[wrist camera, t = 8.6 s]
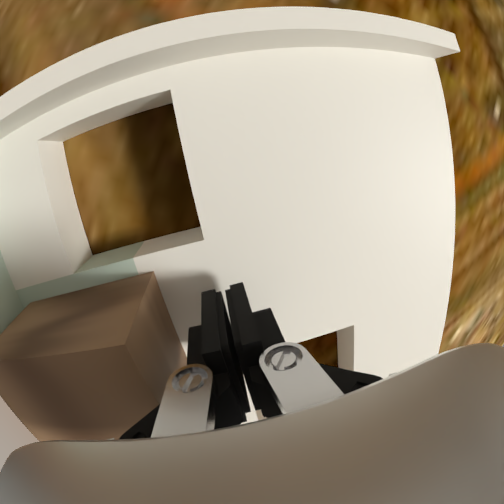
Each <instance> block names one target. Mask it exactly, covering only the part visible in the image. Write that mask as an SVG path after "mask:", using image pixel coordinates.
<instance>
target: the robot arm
mask: <svg viewBox="0 0 504 504" xmlns="http://www.w3.org/2000/svg"><path fill="white" fill-rule="evenodd" d="M225 293H226V299H227V305H228V311H229V317H230V320H229V317H228V313H227V310H226V306H225V303H224V299H223V296H222V293H221V291H219V292H216V290H215V289H212V290H208V291H204V292H201V325H198V326H193V327H190V328H189V331H188V348H187V365H186V366H183V367H181V368H179V369H177V370H176V371H174V372H173V373H172V374H171V375H170V377H169V379H168V381H167V384H166V387H165V391H164V394H163V397H162V401H161V403H160V404H159V405H158V406H157V407H156V408H154V409H153V410H152V411H151V412H149V413H148V414H147V415H146V416H145V417H143V418H142V419H141V420H140V421H138V422H137V423H136V424H135V425H133V426H132V427H131V428H130V429H128V430H127V431H126V432H125V433H124V434H123V435H122V436H121V437H120V438H119V440H115V439H114V438H112V439H108V440H48V441H41V442H35V443H32V444H28V445H25V446H22V447H20V448H18V449H16V450H15V451H13V452H12V453H11V454H10V455H9V457H8V458H7V460H6V462H5V464H4V465H3V467H2V470H1V472H0V504H504V347H502V346H499V345H496V344H492V343H477V344H471V345H466V346H461V347H458V348H454V349H451V350H448V351H445V352H443V353H440V354H438V355H436V356H433V357H430V358H428V359H426V360H424V361H422V362H420V363H418V364H416V365H413V366H411V367H409V368H407V369H404V370H402V371H400V372H396V373H392V374H389V377H386V378H384V379H383V378H381V377H379V376H376V375H372V374H367V373H361V372H356V371H351V370H347V369H342V368H337V367H333V366H328V365H324V364H319V363H317V362H316V360H315V359H314V358H313V357H312V356H311V354H310V353H309V352H308V351H307V350H306V348H304V347H303V346H302V345H300V344H297V343H293V342H285V340H284V337H283V335H282V333H281V331H280V328H279V326H278V324H277V322H276V319H275V317H274V315H273V312H272V310H271V308H267V309H263V310H259V311H256V312H252V310H251V307H250V304H249V300H248V297H247V294H246V291H245V288H244V284H243V282H241V283H237V284H233V285H230V289H227V290H225ZM230 323H231V324H230ZM243 375H244V376H243ZM244 378H245V381H246V384H247V387H248V390H249V393H250V396H251V399H252V402H253V405H254V408H255V411H257V410H261V412H262V415H263V416H264V417H266V419H262V420H258V421H254V422H249V423H245V424H241V423H243V422H247V418H246V413H248V412H251V409H250V405H249V400H248V395H247V391H246V386H245V381H244Z"/></svg>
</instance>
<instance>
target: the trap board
mask: <svg viewBox="0 0 504 504" xmlns="http://www.w3.org/2000/svg"><path fill="white" fill-rule="evenodd" d="M457 52H460V49H459V46H458V43H457V40H456V37H455V34H454V33H451V32H448V31H445V30H442V29H439V28H435V27H432V26H429V25H425V24H421V23H418V22H414V21H410V20H406V19H401V18H397V17H392V16H387V15H381V14H375V13H369V12H362V11H355V10H346V9H336V8H322V7H263V8H248V9H238V10H229V11H221V12H214V13H208V14H202V15H196V16H191V17H186V18H181V19H177V20H173V21H168V22H164V23H160V24H157V25H153V26H149V27H146V28H143V29H139V30H136V31H133V32H130V33H127V34H124V35H121V36H118V37H115V38H112V39H110V40H107V41H104V42H102V43H99V44H97V45H94V46H92V47H90V48H87V49H85V50H83V51H80V52H78V53H76V54H74V55H72V56H70V57H68V58H65V59H63V60H61V61H59V62H57V63H56V64H54V65H52V66H50V67H48V68H46V69H44V70H42V71H41V72H39V73H37V74H35V75H34V76H32V77H30V78H29V79H27V80H25V81H24V82H22V83H20V84H19V85H17V86H16V87H14V88H13V89H11V90H10V91H8V92H7V93H5V94H4V95H2V96H1V97H0V334H1V333H2V332H3V331H4V330H5V329H6V328H7V327H8V325H9V324H10V323H11V322H12V321H13V320H14V319H15V318H16V317H17V316H18V315H19V314H20V313H21V312H22V310H23V309H24V308H25V307H26V306H27V305H28V304H29V303H30V302H34V301H38V300H42V299H46V298H50V297H53V296H57V295H61V294H65V293H69V292H73V291H77V290H81V289H85V288H89V287H93V286H97V285H100V284H104V283H108V282H112V281H116V280H120V279H124V278H128V277H132V276H136V275H140V274H144V273H148V272H152V271H154V273H155V276H156V279H157V282H158V285H159V288H160V290H161V293H162V296H163V299H164V301H165V304H166V307H167V309H168V312H169V314H170V317H171V320H172V322H173V325H174V327H175V330H176V332H177V335H178V337H179V339H180V342H181V344H182V347H183V349H184V351H185V354H186V356H187V348H188V331H189V328H190V327H193V326H198V325H201V292H204V291H208V290H212V289H215V290H216V292H219V291H221V293H222V296H223V299H224V303H225V306H226V310H227V313H228V317H229V311H228V305H227V299H226V293H225V290H227V289H230V285H233V284H237V283H241V282H243V284H244V288H245V291H246V294H247V297H248V300H249V304H250V307H251V310H252V312H256V311H259V310H263V309H267V308H271V310H272V312H273V315H274V317H275V319H276V322H277V324H278V326H279V328H280V331H281V333H282V335H283V337H284V340H285V342H293V343H299V342H302V341H306V340H309V339H312V338H315V337H319V336H322V335H325V334H328V333H331V332H334V331H337V348H338V368H342V369H347V370H351V371H356V372H361V373H367V374H372V375H376V376H379V377H381V378H383V379H384V378H386V377H389V374H392V373H396V372H400V371H402V370H404V369H407V368H409V367H411V366H413V365H416V364H418V363H420V362H422V361H424V360H426V359H428V358H430V357H433V356H436V355H438V352H439V348H440V343H441V339H442V334H443V329H444V324H445V319H446V313H447V307H448V300H449V293H450V286H451V277H452V267H453V255H454V239H455V183H454V167H453V155H452V145H451V137H450V129H449V123H448V116H447V111H446V105H445V100H444V95H443V90H442V86H441V81H440V77H439V73H438V69H437V65H436V62H435V58H438V57H442V56H446V55H449V54H453V53H457ZM171 103H173V106H174V111H175V116H176V121H177V125H178V130H179V135H180V140H181V144H182V149H183V153H184V158H185V162H186V167H187V171H188V176H189V180H190V184H191V188H192V193H193V197H194V201H195V205H196V209H197V213H198V217H199V221H200V225H201V227H197V228H193V229H189V230H185V231H181V232H177V233H173V234H169V235H165V236H161V237H157V238H154V239H150V240H146V241H142V242H139V243H135V244H131V245H128V246H124V247H120V248H117V249H113V250H109V251H106V252H102V253H99V254H95V255H92V252H91V249H90V246H89V243H88V240H87V237H86V234H85V231H84V227H83V224H82V221H81V217H80V214H79V210H78V207H77V203H76V199H75V196H74V192H73V188H72V183H71V179H70V175H69V170H68V166H67V161H66V156H65V151H64V146H63V141H66V140H68V139H70V138H72V137H75V136H77V135H79V134H82V133H84V132H87V131H89V130H92V129H94V128H97V127H99V126H102V125H105V124H107V123H110V122H113V121H116V120H119V119H122V118H124V117H127V116H130V115H134V114H137V113H140V112H143V111H146V110H150V109H153V108H157V107H160V106H164V105H167V104H171ZM229 320H230V317H229ZM230 324H231V323H230ZM243 376H244V375H243ZM244 381H245V378H244ZM245 386H246V391H247V395H248V400H249V405H250V409H251V412H248V413H246V418H247V422H243V423H241V424H245V423H249V422H254V421H258V420H262V419H266V417H264V416H263V415H262V412H261V410H257V411H255V408H254V405H253V402H252V399H251V396H250V393H249V390H248V387H247V384H246V381H245Z"/></svg>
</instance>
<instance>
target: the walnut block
mask: <svg viewBox="0 0 504 504" xmlns="http://www.w3.org/2000/svg"><path fill="white" fill-rule="evenodd" d="M186 365H187V356H186V354H185V351H184V349H183V347H182V344H181V342H180V339H179V337H178V335H177V332H176V330H175V327H174V325H173V322H172V320H171V317H170V314H169V312H168V309H167V307H166V304H165V301H164V299H163V296H162V293H161V290H160V288H159V285H158V282H157V279H156V276H155V273H154V271H152V272H148V273H144V274H140V275H136V276H132V277H128V278H124V279H120V280H116V281H112V282H108V283H104V284H100V285H97V286H93V287H89V288H85V289H81V290H77V291H73V292H69V293H65V294H61V295H57V296H53V297H50V298H46V299H42V300H38V301H34V302H30V303H29V304H28V305H27V306H26V307H25V308H24V309H23V310H22V312H21V313H20V314H19V315H18V316H17V317H16V318H15V319H14V320H13V321H12V322H11V323H10V324H9V325H8V327H7V328H6V329H5V330H4V331H3V332H2V333H1V334H0V396H1V397H2V398H3V400H4V401H5V402H6V403H7V405H8V406H9V407H10V409H11V410H12V411H13V412H14V413H15V415H16V416H17V417H18V418H19V419H20V420H21V422H22V423H23V424H24V425H25V426H26V427H27V429H28V430H29V431H30V432H31V433H32V434H33V435H34V436H35V437H36V438H37V439H38V440H39V441H40V442H41V441H48V440H108V439H112V438H114V439H115V440H119V438H120V437H121V436H122V435H123V434H124V433H125V432H126V431H127V430H128V429H130V428H131V427H132V426H133V425H135V424H136V423H137V422H138V421H140V420H141V419H142V418H143V417H145V416H146V415H147V414H148V413H149V412H151V411H152V410H153V409H154V408H156V407H157V406H158V405H159V404H160V403H161V401H162V397H163V394H164V391H165V387H166V384H167V381H168V379H169V377H170V375H171V374H172V373H173V372H174V371H176V370H177V369H179V368H181V367H183V366H186Z"/></svg>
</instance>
